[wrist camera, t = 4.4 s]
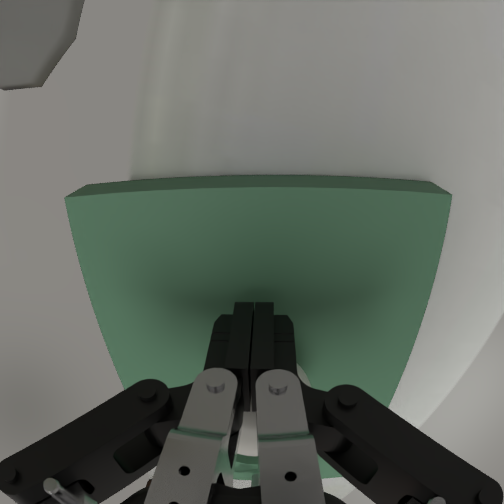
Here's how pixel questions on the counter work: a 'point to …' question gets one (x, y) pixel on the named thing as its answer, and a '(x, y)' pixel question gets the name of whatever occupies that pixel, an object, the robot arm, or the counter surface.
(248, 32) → the counter surface
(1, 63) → the flask
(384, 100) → the counter surface
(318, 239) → the putting board
